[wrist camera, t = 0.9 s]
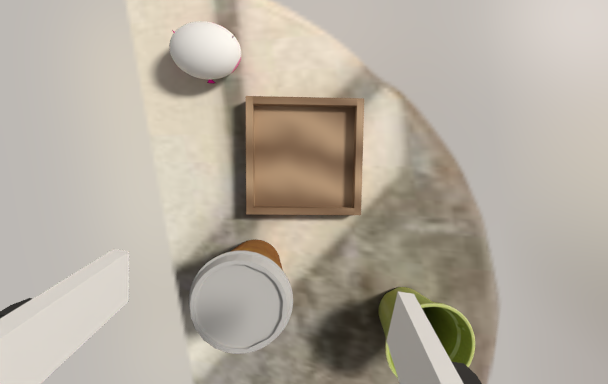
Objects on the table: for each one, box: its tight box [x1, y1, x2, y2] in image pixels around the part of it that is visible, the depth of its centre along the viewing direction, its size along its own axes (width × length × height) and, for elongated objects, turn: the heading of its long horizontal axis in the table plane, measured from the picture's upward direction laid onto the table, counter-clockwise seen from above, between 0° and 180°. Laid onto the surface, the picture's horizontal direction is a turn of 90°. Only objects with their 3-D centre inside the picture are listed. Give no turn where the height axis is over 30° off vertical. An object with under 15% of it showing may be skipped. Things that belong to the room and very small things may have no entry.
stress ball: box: [169, 21, 241, 83], centre depth 35 cm, size 8×8×7 cm
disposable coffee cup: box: [189, 240, 293, 354], centre depth 33 cm, size 10×10×12 cm
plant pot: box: [379, 287, 475, 378], centre depth 36 cm, size 9×9×9 cm
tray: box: [246, 96, 364, 215], centre depth 37 cm, size 14×14×2 cm
